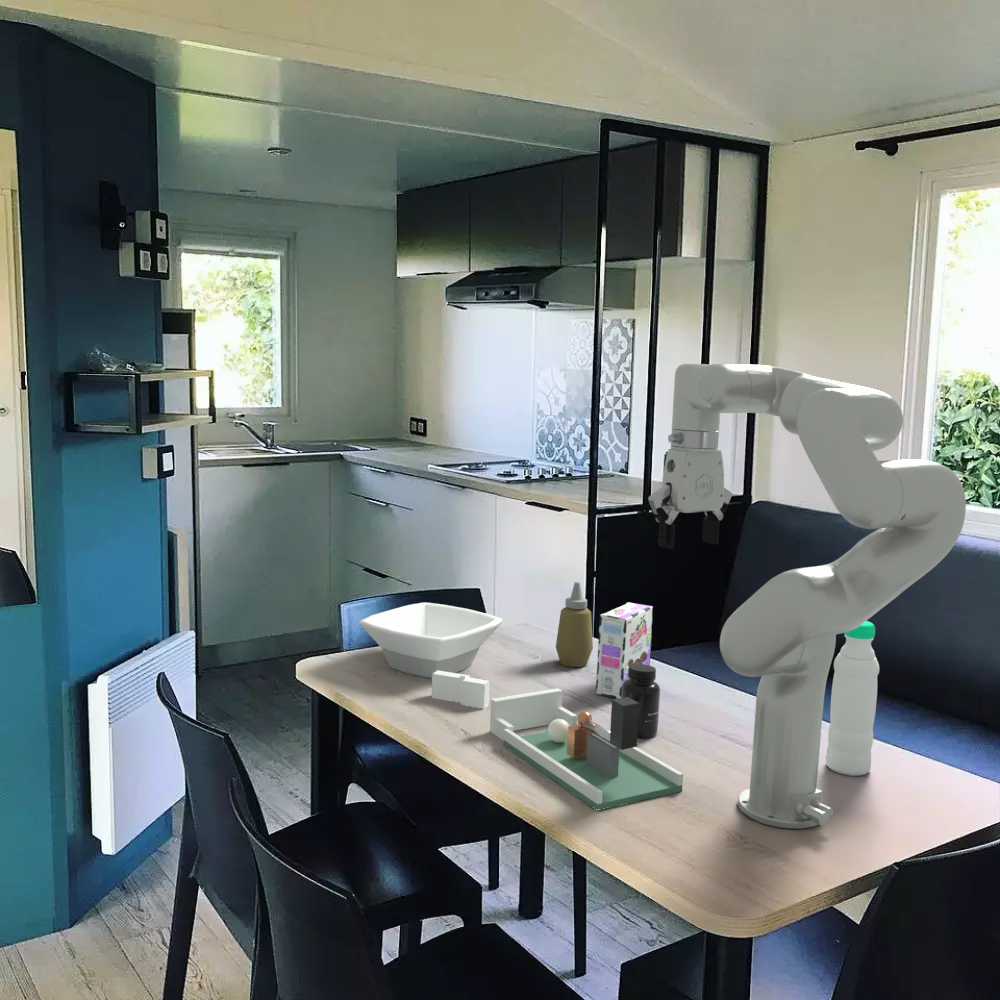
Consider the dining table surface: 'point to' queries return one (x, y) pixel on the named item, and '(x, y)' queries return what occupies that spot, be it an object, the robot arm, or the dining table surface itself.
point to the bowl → (430, 636)
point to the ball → (558, 730)
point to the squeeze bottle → (575, 631)
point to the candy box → (622, 645)
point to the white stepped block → (460, 689)
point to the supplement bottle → (644, 697)
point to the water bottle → (853, 704)
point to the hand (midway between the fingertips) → (688, 545)
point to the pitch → (591, 777)
